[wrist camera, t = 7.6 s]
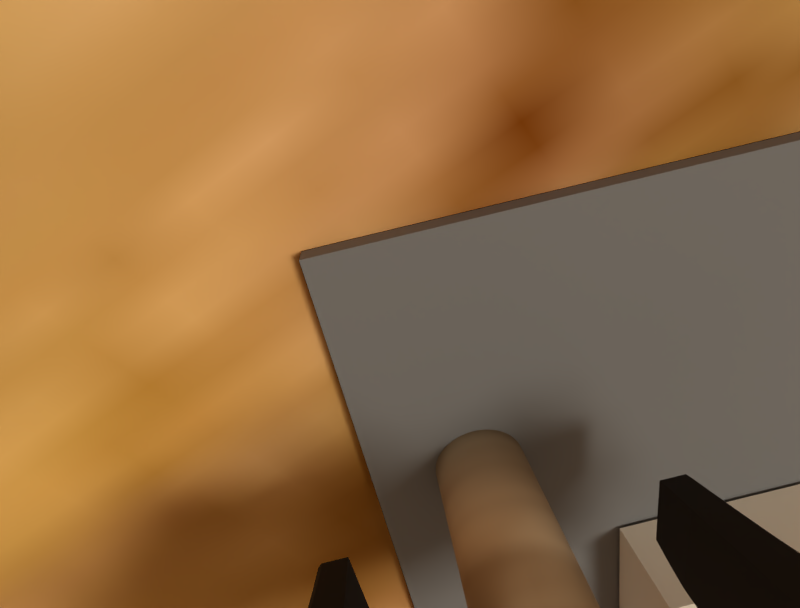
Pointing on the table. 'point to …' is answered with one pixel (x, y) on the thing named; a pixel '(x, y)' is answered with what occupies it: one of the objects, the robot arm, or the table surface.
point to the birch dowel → (505, 528)
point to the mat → (578, 348)
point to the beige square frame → (650, 570)
